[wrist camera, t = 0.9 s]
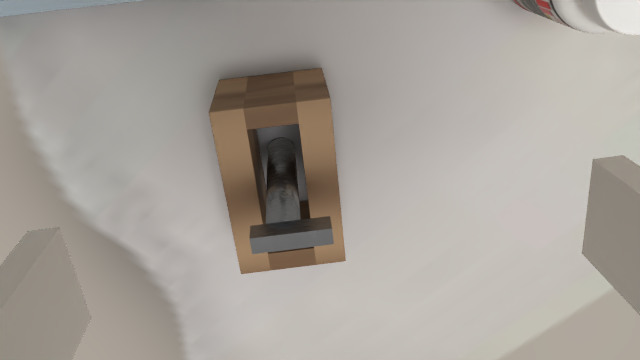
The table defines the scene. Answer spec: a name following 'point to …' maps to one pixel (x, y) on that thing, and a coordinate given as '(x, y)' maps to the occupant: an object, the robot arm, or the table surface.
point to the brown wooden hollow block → (246, 165)
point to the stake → (286, 208)
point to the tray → (49, 5)
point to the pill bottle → (590, 14)
